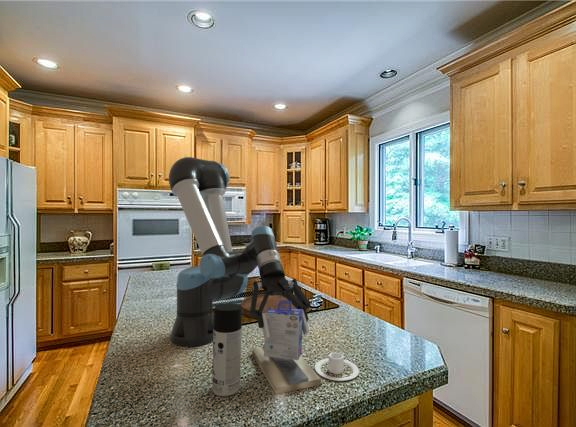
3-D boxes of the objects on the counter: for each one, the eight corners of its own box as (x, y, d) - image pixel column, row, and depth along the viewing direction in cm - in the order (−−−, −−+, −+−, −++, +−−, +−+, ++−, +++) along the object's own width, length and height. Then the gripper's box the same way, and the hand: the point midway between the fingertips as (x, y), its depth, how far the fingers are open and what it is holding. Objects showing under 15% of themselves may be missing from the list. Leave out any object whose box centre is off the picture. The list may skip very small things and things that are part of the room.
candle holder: (338, 356, 92) (338, 342, 92) (368, 375, 82) (368, 359, 81) (306, 367, 85) (306, 351, 85) (334, 388, 75) (334, 371, 75)
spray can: (214, 381, 76) (215, 302, 76) (241, 381, 77) (242, 302, 77) (209, 398, 70) (211, 311, 70) (239, 397, 70) (241, 311, 70)
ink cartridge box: (302, 351, 86) (303, 300, 86) (299, 361, 80) (300, 306, 80) (268, 348, 88) (269, 298, 88) (263, 357, 82) (264, 303, 82)
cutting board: (321, 305, 142) (321, 300, 142) (284, 327, 115) (284, 320, 115) (266, 294, 159) (266, 289, 159) (222, 311, 132) (222, 305, 132)
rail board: (275, 394, 72) (275, 384, 72) (252, 353, 92) (252, 345, 92) (321, 384, 76) (321, 375, 76) (288, 347, 96) (289, 340, 96)
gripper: (236, 262, 89) (247, 335, 75) (307, 259, 97) (330, 324, 83) (232, 276, 94) (242, 348, 80) (300, 272, 102) (321, 336, 88)
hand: (287, 336), depth 81 cm, fingers closed on ink cartridge box, 11 cm apart
